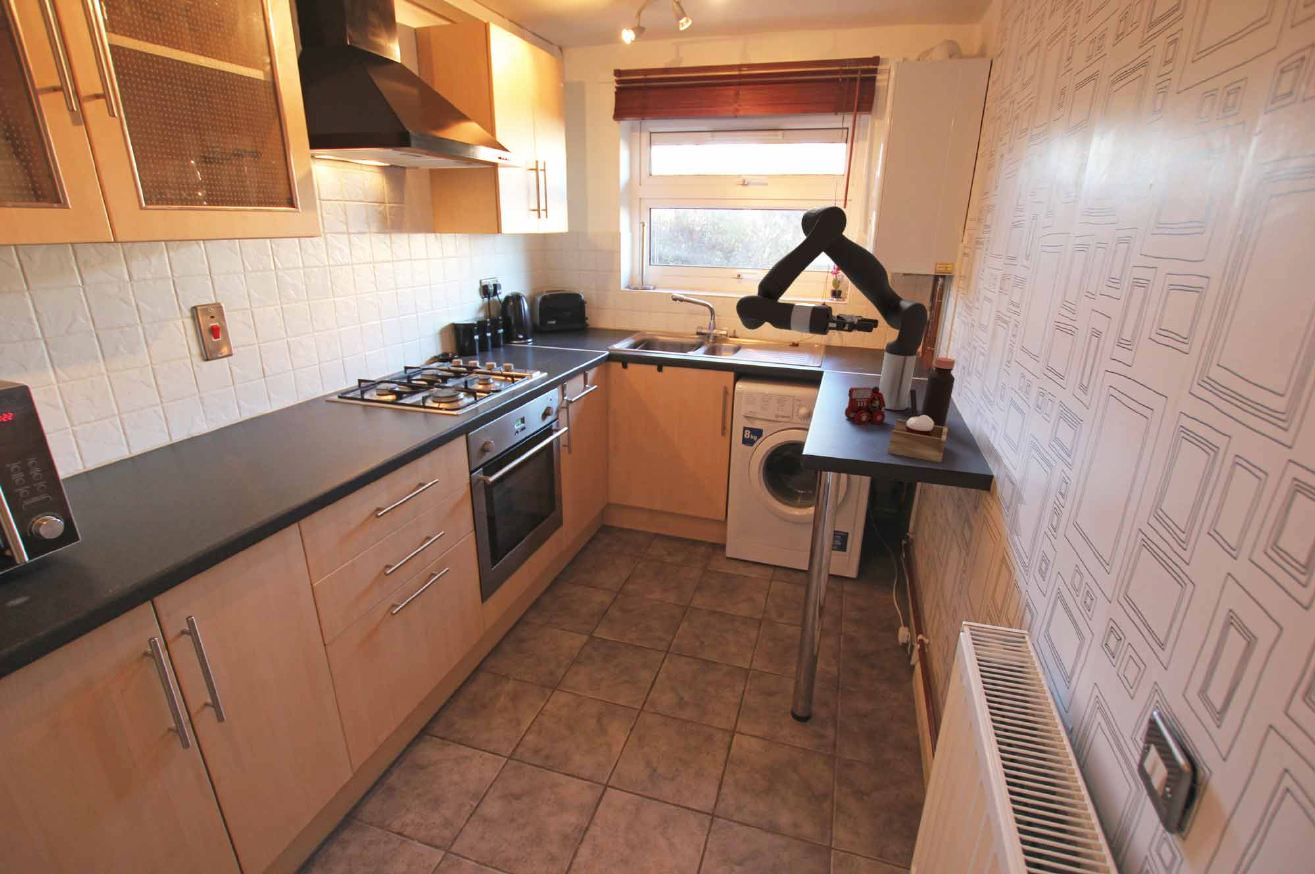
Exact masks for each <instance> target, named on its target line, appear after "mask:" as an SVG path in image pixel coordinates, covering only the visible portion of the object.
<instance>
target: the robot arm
mask: <svg viewBox="0 0 1315 874" xmlns="http://www.w3.org/2000/svg"><path fill="white" fill-rule="evenodd" d="M847 222H848V221H847V214H846V212H845V211H844V210H843V209H842V208H841V207H840V206H837V205H836V206H835V205H824V206H815V207H811V208H809V209H807V210H806V211H805V212H804V214H802V218H801V224H800V225H801V231H802V233H803V235H804V236H805V238H804V239H803V240H802V241H801V242H800V244H799V245H797V246H796V247H795V248H793V249H792V250H790V251H789V253H787V254H786V255H784V256H783V257H782V258H780V259H779V260H778V261H777V262H776V263H775V264H774V265H773V266H772V267H771V268H770V269H769V271H768V272H767V273H766V274H765V275H764V277H763V278H762V279H761V280H760V282H759V283H758V285H757V293H756V294H749V295H745V296H743V297H741V298H740V299H739V300H738V301H737V303H736V307H735V308H736V309H735V310H736V313H737V316H738V317H739V318H738V319H740V322H741V324H742V326H743V327H745V328H746V329H747V330H751V331H752V330H757V329H759V328H760V327H762V326H763V325H765V323H768V324H770V325H771V326H772V327H774V328H775V329H778V330H785V331H794V332H797V333H802V334H803V333H804V334H811V335H820V336H827V335H828V334H829V333H830V331H837V332H838V331H839V332H846V333H854V332H861V333H862V332H863V333H870V334H871V333H873V332H874V331H873V330H874V329H877V328H878V327H879V322H880V321H879V319H877V318H867V317H866V318H865V317H863V315H854V314H846V313H838V314H837V315H833V307H832V306H830V305H822V304H814V303H813V304H811V303H794V302H793V303H791V302H781V301H779V300H780V298H782V296H783V295H784V294H785V293H786V292H787V291H788V289H789V288H790V287H791V285H793V283H794V282H795V280H797V278H798V277H799V276H800V275H801V274H802V273H803V272H804V271H805V270H806V269H807V268H808V267H809V266H810V265H811V264H812V263H813V262H814V261H815V260H816V259H817V258H818V257H819V256H820V255H822V253H824V254H825V255H826V256H827V257H828V258H829V259H830V260H831V261H832V262H833V264H834V265H835V266H836V267H837V268H838V269H839V271H841V272H842V273H843V274H844V275H845V276H846V278H847V280H849V281H850V282H851V284H853V286H854V287H855V288H856V289H857V290H858V291H859V292H860V293H862V295H863V296H864V297H865V298H866V299H867V300H868V301H869V302H870V303H871V304H872V305H873V306H874V308H875V309H876V311H878V313H879V314H880V316H881V317H882V319H883V321H885V323H886V324H887V325H888V327H890V328H892V329H894V330H896V331H898V333H897V336H896V339H894V340H892V341H889V342H887V343H886V345H885V350H884V354H883V355H884V356H883V362H882V368H881V372H880V373H881V374H880V379H879V385H878V387H879V392H880V393H882V394H883V397H884V401H885V404H886V406H885V410H886V409H887V410H891V411H892V410H893V411H903V410H906V409H907V406H908V401H909V397H910V390H911V385H912V382H913V381H912V380H913V375H914V370H915V365H916V359H917V354H918V351H919V348H920V347H921V345H922V342H923V338H924V335H925V331H926V326H927V322H928V310H927V309H928V308H927V307H926V305H925V304H924V303H921V302H918V301H913V300H908V299H904V298H903V297H901V296H900V295H898V293H897V292H896V291H895V290H894V289H893V288H892V287H891V285H890V281H889V280H890V279H889V275H888V272H887V270H886V267H884V266H883V264H882V263H881V262H880V260H879V259H878V258H877V257H876V256H875V255H874V254H873V253H872V252H871V251H869V250H867V248H864V247H862V245H860V244H858V243H856V242H854V241H853V240H851V239H850V238H848V237H847V236H845V235H844V232H845V230H846V227H847V225H848V224H847Z"/></svg>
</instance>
